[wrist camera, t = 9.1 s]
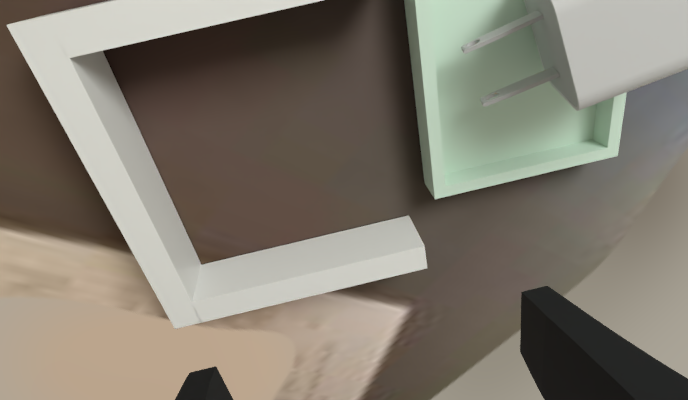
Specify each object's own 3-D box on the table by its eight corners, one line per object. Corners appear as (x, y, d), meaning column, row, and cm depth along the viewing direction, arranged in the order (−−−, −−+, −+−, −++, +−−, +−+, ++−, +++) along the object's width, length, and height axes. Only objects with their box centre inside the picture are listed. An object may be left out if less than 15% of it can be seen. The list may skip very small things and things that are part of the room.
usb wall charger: (671, 28, 16) (745, 56, 12) (481, 107, 18) (500, 148, 14) (654, -91, 14) (736, -97, 11) (446, 13, 16) (459, 35, 13)
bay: (411, 236, 21) (427, 268, 19) (185, 290, 21) (174, 328, 19) (370, -59, 15) (387, -61, 13) (46, 14, 14) (6, 25, 12)
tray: (595, 142, 20) (617, 155, 18) (424, 183, 20) (434, 199, 18) (629, -164, 14) (664, -176, 13) (391, -111, 14) (403, -118, 13)
